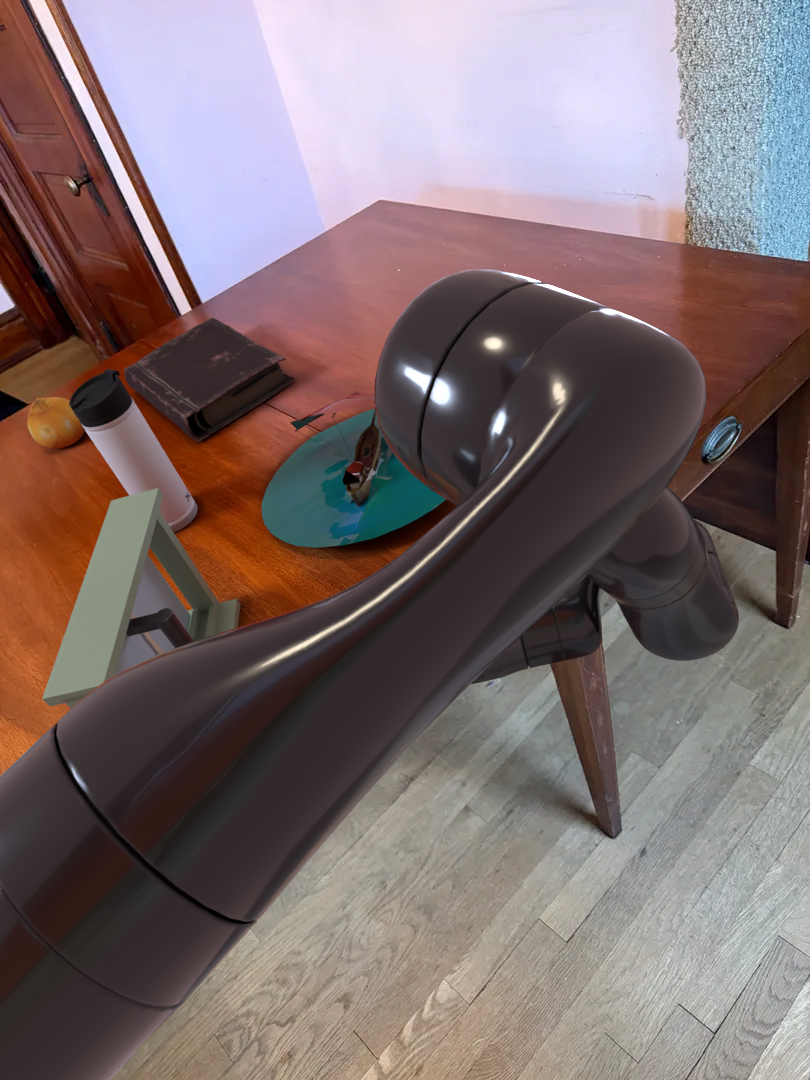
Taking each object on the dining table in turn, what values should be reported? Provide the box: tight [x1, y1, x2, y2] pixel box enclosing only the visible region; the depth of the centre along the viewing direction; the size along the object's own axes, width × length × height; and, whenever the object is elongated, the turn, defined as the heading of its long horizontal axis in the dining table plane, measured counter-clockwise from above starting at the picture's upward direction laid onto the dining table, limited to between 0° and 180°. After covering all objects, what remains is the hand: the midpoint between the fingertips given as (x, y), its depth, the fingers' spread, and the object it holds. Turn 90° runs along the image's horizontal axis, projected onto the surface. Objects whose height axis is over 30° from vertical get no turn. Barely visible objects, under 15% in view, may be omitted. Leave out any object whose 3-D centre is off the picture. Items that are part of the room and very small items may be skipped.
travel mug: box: [69, 368, 199, 533], centre depth 88 cm, size 6×7×20 cm
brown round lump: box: [26, 396, 86, 450], centre depth 116 cm, size 8×8×8 cm
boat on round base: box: [261, 390, 446, 549], centre depth 87 cm, size 28×28×11 cm
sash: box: [115, 608, 194, 675], centre depth 63 cm, size 5×8×14 cm, turn 4°
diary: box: [123, 316, 294, 443], centre depth 116 cm, size 19×25×5 cm
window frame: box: [41, 488, 241, 709], centre depth 67 cm, size 6×22×17 cm, turn 4°
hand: (248, 683), depth 59 cm, fingers closed
